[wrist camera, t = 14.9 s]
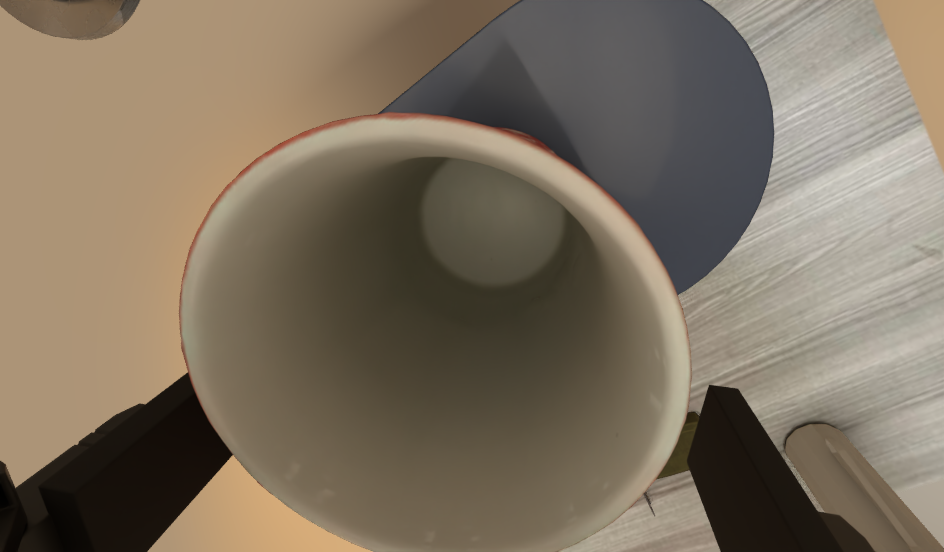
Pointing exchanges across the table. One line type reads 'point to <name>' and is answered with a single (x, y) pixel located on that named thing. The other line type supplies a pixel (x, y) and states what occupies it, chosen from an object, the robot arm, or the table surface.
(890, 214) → the table surface
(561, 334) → the mug
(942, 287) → the table surface
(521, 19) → the x-leg side table
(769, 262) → the table surface
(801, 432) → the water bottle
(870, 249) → the table surface
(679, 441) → the landmine
